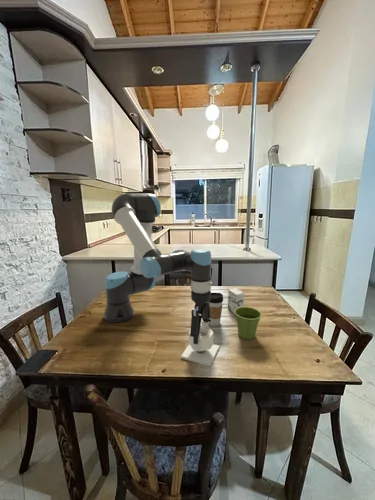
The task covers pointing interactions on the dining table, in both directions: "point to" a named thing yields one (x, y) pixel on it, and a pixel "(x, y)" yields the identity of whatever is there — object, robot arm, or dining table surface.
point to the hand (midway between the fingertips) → (201, 343)
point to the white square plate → (200, 354)
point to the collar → (203, 338)
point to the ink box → (235, 299)
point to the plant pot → (247, 321)
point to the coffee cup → (215, 308)
